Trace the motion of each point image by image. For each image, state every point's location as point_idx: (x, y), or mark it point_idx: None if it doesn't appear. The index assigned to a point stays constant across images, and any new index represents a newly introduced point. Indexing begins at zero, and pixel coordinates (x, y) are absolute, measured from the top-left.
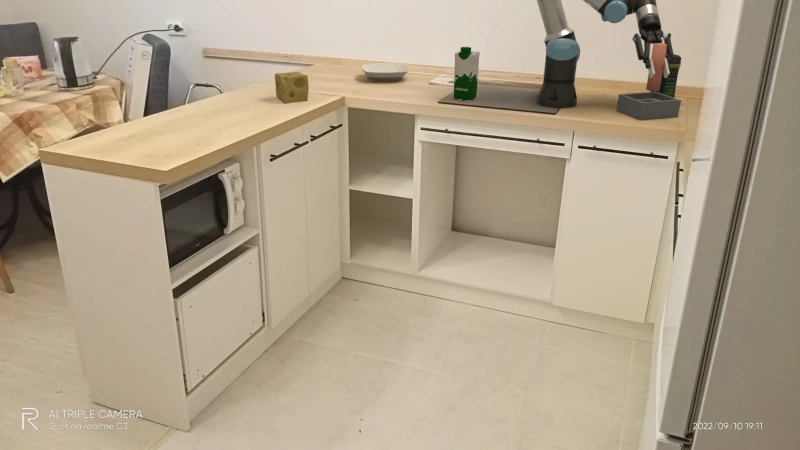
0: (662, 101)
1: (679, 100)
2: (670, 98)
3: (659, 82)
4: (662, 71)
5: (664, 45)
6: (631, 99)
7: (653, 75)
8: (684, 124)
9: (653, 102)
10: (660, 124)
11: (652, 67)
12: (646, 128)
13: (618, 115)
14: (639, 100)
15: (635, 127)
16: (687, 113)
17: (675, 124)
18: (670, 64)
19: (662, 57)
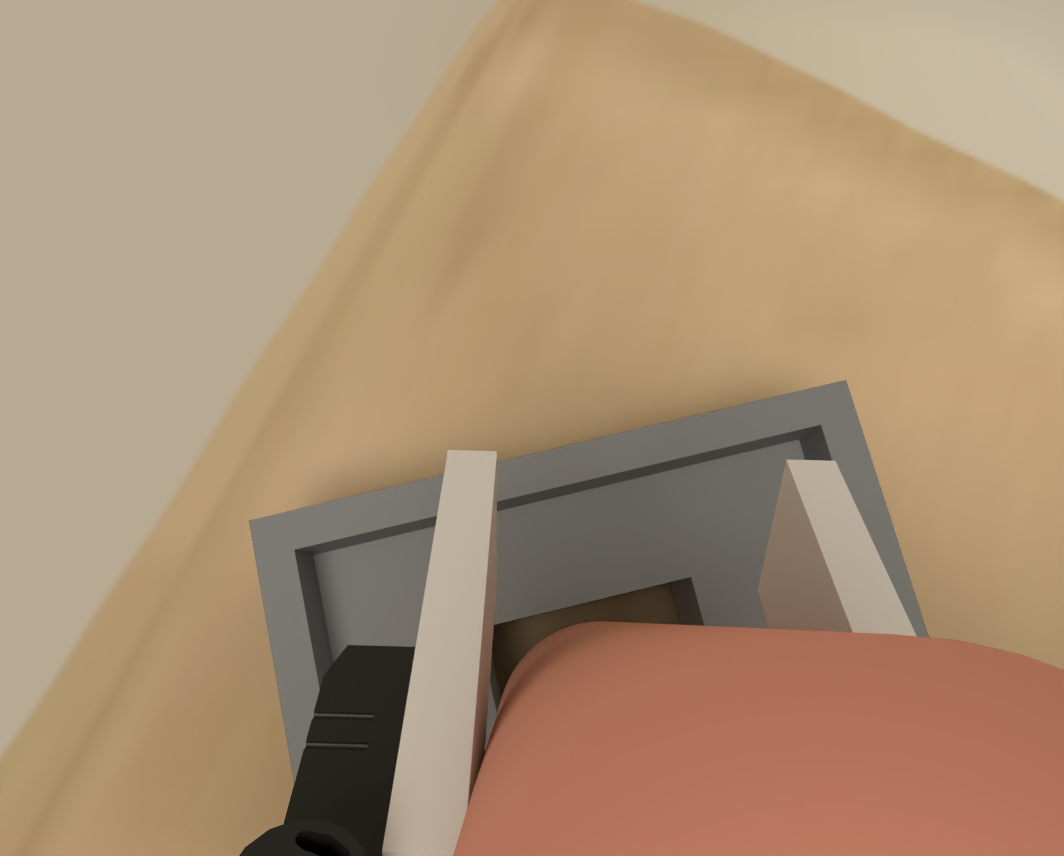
0: (547, 450)
1: (275, 514)
2: (320, 681)
3: (555, 636)
4: (508, 695)
5: (744, 656)
6: (921, 621)
7: (778, 521)
8: (398, 242)
9: (685, 418)
10: (640, 252)
11: (869, 568)
12: (834, 128)
13: (965, 625)
14: None
15: (929, 163)
16: (116, 680)
17: (488, 246)
18: None
19: (638, 638)
